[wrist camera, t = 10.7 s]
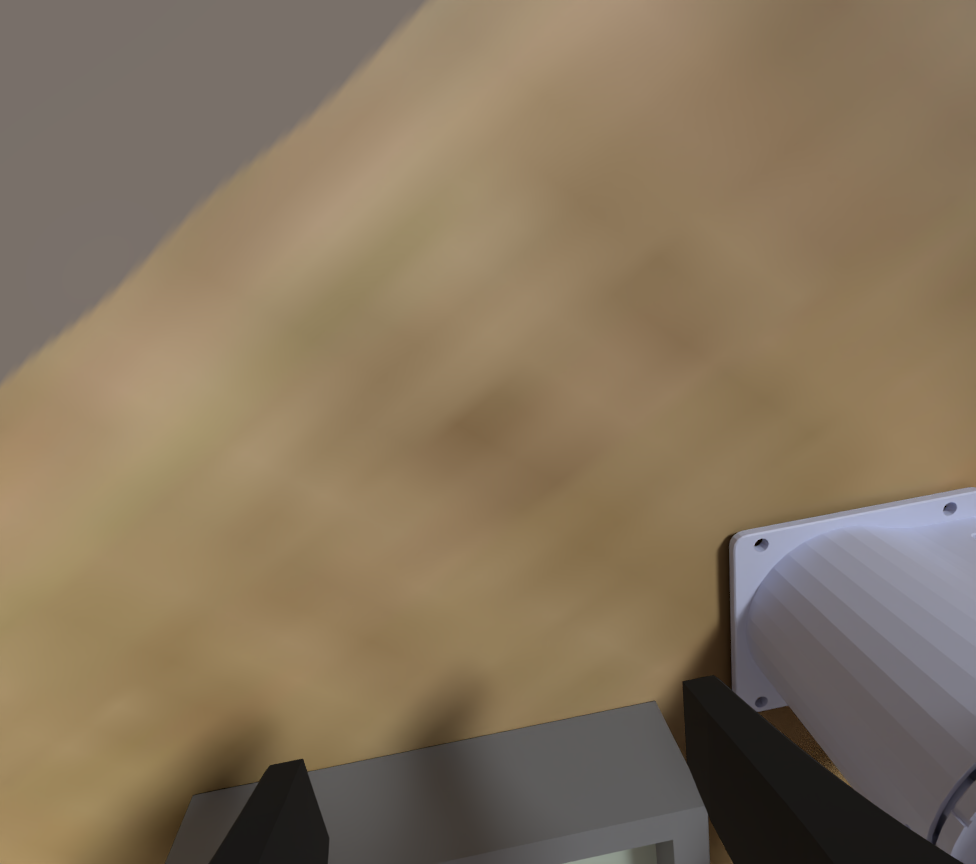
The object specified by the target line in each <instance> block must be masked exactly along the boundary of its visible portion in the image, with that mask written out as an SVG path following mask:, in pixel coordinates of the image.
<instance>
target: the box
mask: <svg viewBox="0 0 976 864" xmlns="http://www.w3.org/2000/svg"><path fill="white" fill-rule="evenodd" d="M308 775H309V778H310V781H311V784H312V787H313V790H314V793H315V796H316V799H317V802H318V805H319V808H320V811H321V814H322V817H323V820H324V823H325V826H326V829H327V832H328V835H329V838H330V840H329V855H328V864H710V854H709V829H708V813H707V811H706V808H705V806H704V803H703V801H702V799H701V796H700V794H699V792H698V789H697V787H696V784H695V782H694V779H693V777H692V774H691V772H690V769H689V767H688V765H687V763H686V761H685V759H684V757H683V755H682V753H681V751H680V749H679V747H678V745H677V743H676V741H675V739H674V737H673V735H672V733H671V731H670V729H669V727H668V725H667V723H666V721H665V719H664V717H663V715H662V713H661V711H660V709H659V707H658V705H657V703H656V701H652V702H648V703H643V704H638V705H633V706H628V707H623V708H618V709H613V710H608V711H604V712H599V713H594V714H589V715H584V716H579V717H574V718H569V719H564V720H560V721H555V722H550V723H545V724H540V725H535V726H530V727H525V728H520V729H516V730H511V731H506V732H501V733H496V734H491V735H486V736H481V737H476V738H472V739H467V740H462V741H457V742H452V743H447V744H442V745H437V746H432V747H428V748H423V749H418V750H413V751H408V752H403V753H398V754H393V755H388V756H384V757H379V758H374V759H369V760H364V761H359V762H354V763H349V764H345V765H340V766H335V767H330V768H325V769H320V770H315V771H310V772H308ZM258 783H259V782H257V783H252V784H247V785H242V786H237V787H232V788H227V789H222V790H217V791H213V792H208V793H203V794H198V795H193V797H192V799H191V802H190V804H189V806H188V809H187V811H186V814H185V816H184V818H183V821H182V823H181V826H180V828H179V831H178V833H177V835H176V838H175V840H174V843H173V845H172V848H171V850H170V852H169V855H168V857H167V860H166V862H165V864H208V863H209V862H210V860H211V859H212V857H213V856H214V854H215V853H216V851H217V849H218V848H219V846H220V845H221V843H222V841H223V840H224V838H225V837H226V835H227V833H228V832H229V830H230V829H231V827H232V825H233V824H234V822H235V820H236V819H237V817H238V816H239V814H240V812H241V811H242V809H243V807H244V806H245V804H246V802H247V801H248V799H249V797H250V796H251V794H252V792H253V791H254V789H255V788H256V786H257V784H258Z"/></svg>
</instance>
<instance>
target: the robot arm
mask: <svg viewBox="0 0 976 864" xmlns="http://www.w3.org/2000/svg"><path fill="white" fill-rule="evenodd" d="M946 504H947V506H946V507H945V505H946ZM944 507H945V508H944ZM759 539H762V542H761V543H760V544H759V545H757V546H754V545H755V543H756V542H757V541H758V540H759ZM729 563H730V614H731V664H732V690H731V689H730V688H729V687H728V686H727V685H725V684H724V683H723V682H722V681H721V680H720V679H718V678H717V677H716V676H714V675H712V676H707V677H702V678H697V679H692V680H688V681H683V699H684V717H685V736H686V755H687V764H688V767H689V769H690V772H691V774H692V777H693V779H694V782H695V784H696V787H697V789H698V792H699V794H700V796H701V799H702V801H703V803H704V806H705V808H706V811H707V813H708V815H709V818H710V820H711V822H712V824H713V826H714V828H715V830H716V832H717V833H718V835H719V837H720V839H721V841H722V843H723V845H724V847H725V849H726V850H727V852H728V854H729V856H730V858H731V860H732V862H733V864H976V488H975V487H969V488H963V489H958V490H953V491H948V492H942V493H937V494H932V495H927V496H922V497H916V498H911V499H906V500H901V501H895V502H890V503H885V504H880V505H874V506H869V507H864V508H859V509H853V510H848V511H843V512H838V513H833V514H827V515H822V516H817V517H812V518H806V519H801V520H796V521H791V522H785V523H780V524H775V525H770V526H765V527H759V528H754V529H749V530H744V531H740V532H738V533H736V534H735V535H734V536H733V537H732V539H731V540H730V544H729ZM759 697H760V698H759ZM758 698H759V699H758ZM784 706H789V707H790V708H791V710H792V711H793V712H794V713H795V715H796V716H797V717H798V719H799V720H800V721H801V722H802V724H803V725H804V726H805V728H806V729H807V730H808V731H809V733H810V734H811V735H812V736H813V738H814V739H815V740H816V742H817V743H818V744H819V745H820V747H821V748H822V749H823V751H824V752H825V753H826V754H827V756H828V757H829V758H830V760H831V761H832V762H833V763H834V765H835V766H836V767H837V769H838V770H839V771H840V772H841V774H842V775H843V776H844V777H845V779H846V780H847V781H848V783H849V784H850V785H851V786H852V788H851V787H850V786H849V785H847V784H846V783H845V782H843V781H842V780H841V779H839V778H838V777H837V776H835V775H834V774H833V773H831V772H830V771H829V770H828V769H826V768H825V767H824V766H822V765H821V764H820V763H819V762H817V761H816V760H815V759H814V758H812V757H811V756H810V755H809V754H807V753H806V752H805V751H804V750H802V749H801V748H800V747H798V746H797V745H796V744H795V743H793V742H792V741H791V740H790V739H789V738H787V737H786V736H785V735H784V734H782V733H781V732H780V731H779V730H778V729H776V728H775V727H774V726H773V725H772V724H771V723H769V722H768V721H767V720H766V719H765V718H763V717H762V716H761V715H760V714H759V713H758V712H760V711H764V710H769V709H774V708H779V707H784ZM329 840H330V838H329V835H328V832H327V829H326V826H325V823H324V820H323V817H322V814H321V811H320V808H319V805H318V802H317V799H316V796H315V793H314V790H313V787H312V784H311V781H310V778H309V775H308V772H307V769H306V766H305V763H304V760H303V759H299V760H294V761H289V762H284V763H279V764H274V765H270V766H269V767H268V769H267V770H266V771H265V773H264V774H263V776H262V778H261V779H260V781H259V783H258V784H257V786H256V788H255V789H254V791H253V792H252V794H251V796H250V797H249V799H248V801H247V802H246V804H245V806H244V807H243V809H242V811H241V812H240V814H239V816H238V817H237V819H236V820H235V822H234V824H233V825H232V827H231V829H230V830H229V832H228V833H227V835H226V837H225V838H224V840H223V841H222V843H221V845H220V846H219V848H218V849H217V851H216V853H215V854H214V856H213V857H212V859H211V860H210V862H209V863H208V864H328V855H329Z"/></svg>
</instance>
